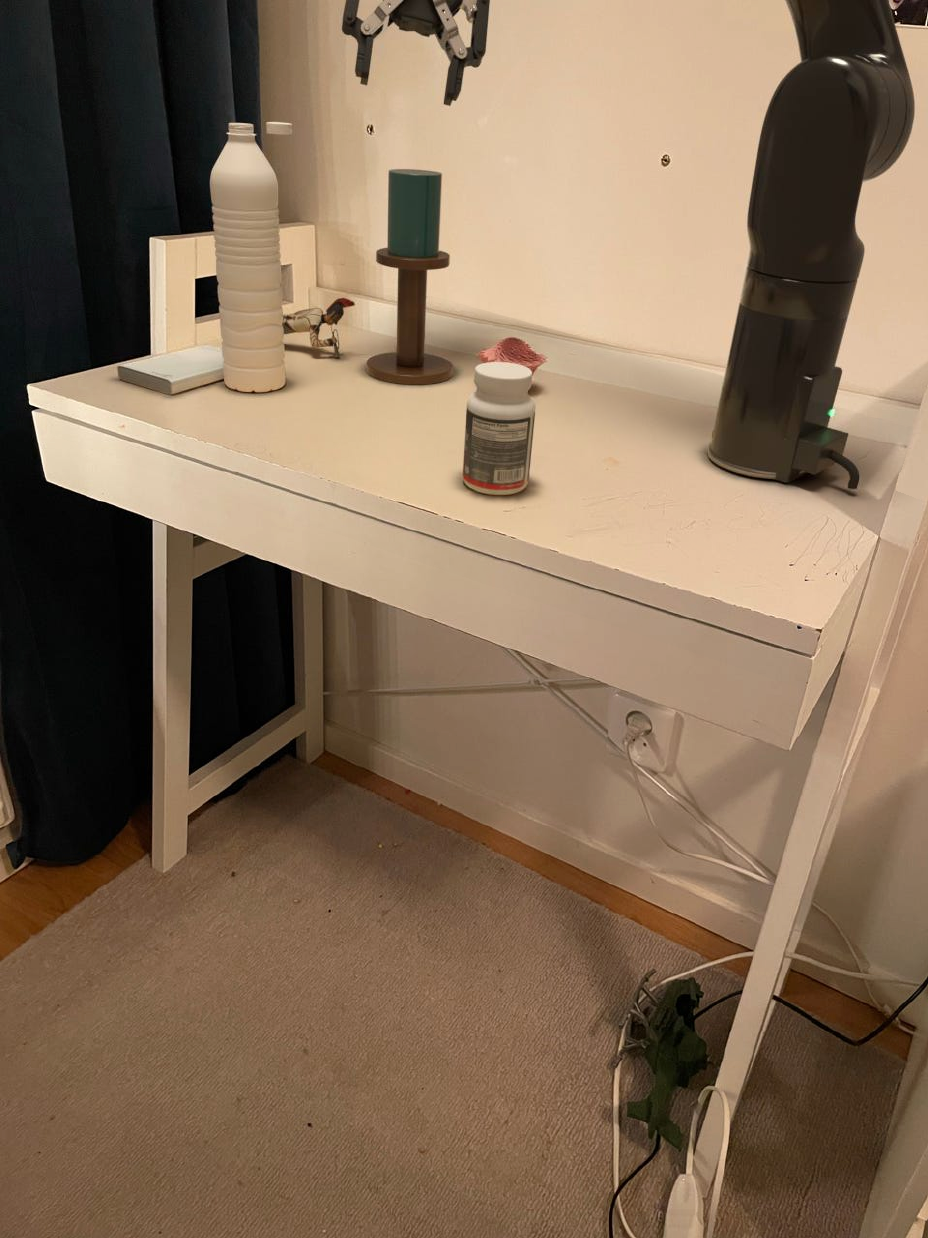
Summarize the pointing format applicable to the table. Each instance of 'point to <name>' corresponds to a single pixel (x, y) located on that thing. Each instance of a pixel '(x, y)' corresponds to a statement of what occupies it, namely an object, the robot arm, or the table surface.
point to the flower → (513, 354)
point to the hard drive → (176, 370)
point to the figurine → (317, 322)
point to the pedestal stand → (410, 325)
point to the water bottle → (248, 261)
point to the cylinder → (414, 213)
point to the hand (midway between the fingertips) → (406, 91)
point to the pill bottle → (499, 429)
